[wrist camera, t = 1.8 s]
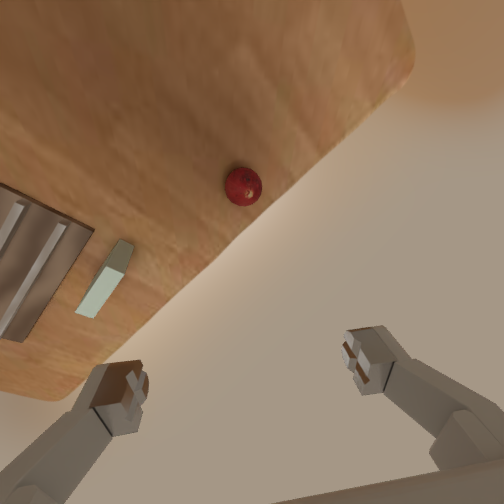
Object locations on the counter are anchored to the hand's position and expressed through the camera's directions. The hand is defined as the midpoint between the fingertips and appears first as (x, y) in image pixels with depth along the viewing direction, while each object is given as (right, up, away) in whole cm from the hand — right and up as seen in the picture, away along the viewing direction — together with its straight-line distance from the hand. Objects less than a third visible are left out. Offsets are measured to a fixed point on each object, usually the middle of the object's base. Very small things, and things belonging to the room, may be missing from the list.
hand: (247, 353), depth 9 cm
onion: (-2, +16, +31) cm, 35 cm away
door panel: (-24, +2, +32) cm, 40 cm away
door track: (-37, +1, +28) cm, 47 cm away
